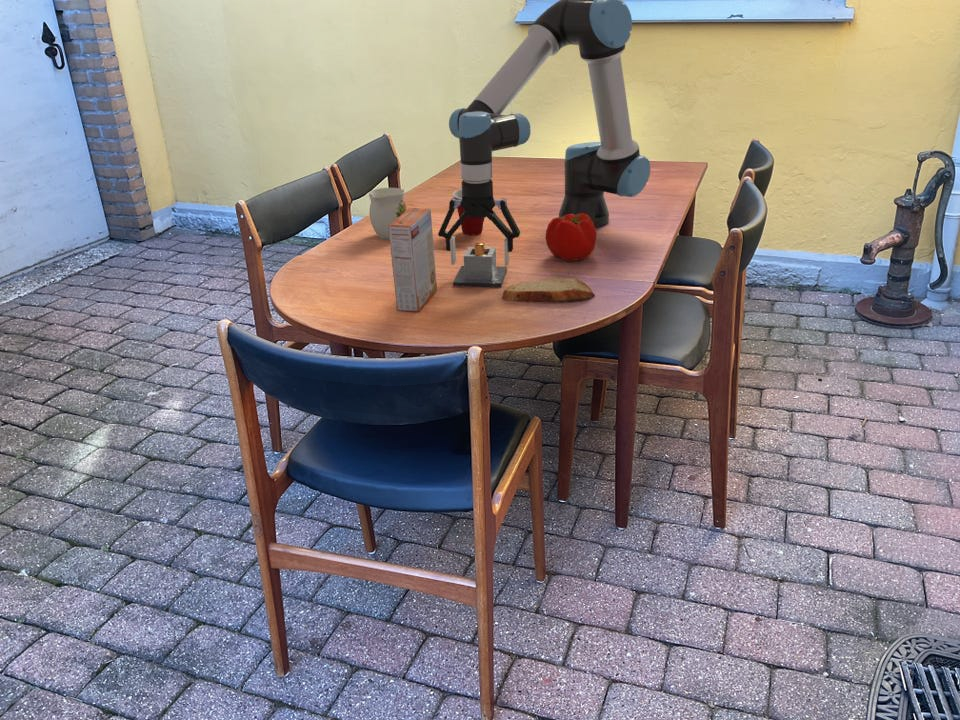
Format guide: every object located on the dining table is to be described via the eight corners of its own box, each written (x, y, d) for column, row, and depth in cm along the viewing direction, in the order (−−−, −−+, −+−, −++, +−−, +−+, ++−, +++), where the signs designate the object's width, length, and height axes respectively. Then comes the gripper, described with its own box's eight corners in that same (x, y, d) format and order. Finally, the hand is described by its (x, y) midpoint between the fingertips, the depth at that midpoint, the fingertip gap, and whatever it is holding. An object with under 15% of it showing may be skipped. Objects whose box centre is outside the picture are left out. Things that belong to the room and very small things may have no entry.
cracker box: (414, 289, 200) (408, 206, 191) (438, 291, 199) (432, 207, 189) (394, 311, 188) (386, 224, 179) (419, 313, 187) (412, 225, 177)
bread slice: (495, 298, 194) (495, 283, 192) (546, 278, 205) (546, 264, 203) (550, 318, 182) (550, 303, 180) (601, 296, 193) (602, 281, 191)
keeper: (507, 270, 210) (506, 236, 206) (501, 287, 199) (500, 252, 195) (461, 269, 212) (459, 236, 208) (453, 286, 201) (451, 251, 197)
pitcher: (419, 226, 246) (416, 182, 240) (397, 245, 231) (393, 198, 225) (386, 225, 250) (382, 180, 243) (362, 243, 234) (357, 196, 228)
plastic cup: (479, 240, 233) (478, 199, 227) (447, 235, 238) (445, 195, 232) (497, 229, 241) (496, 190, 236) (466, 225, 246) (464, 186, 241)
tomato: (567, 269, 209) (568, 225, 203) (535, 255, 220) (535, 213, 214) (607, 259, 215) (609, 216, 210) (574, 245, 226) (575, 204, 220)
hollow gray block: (496, 269, 208) (495, 247, 205) (492, 279, 201) (491, 256, 199) (469, 269, 209) (468, 247, 206) (464, 278, 202) (463, 256, 200)
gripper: (530, 175, 196) (531, 259, 205) (429, 175, 199) (434, 257, 209) (527, 183, 189) (528, 269, 199) (422, 183, 193) (428, 267, 202)
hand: (480, 263), depth 204 cm, fingers open, 13 cm apart
